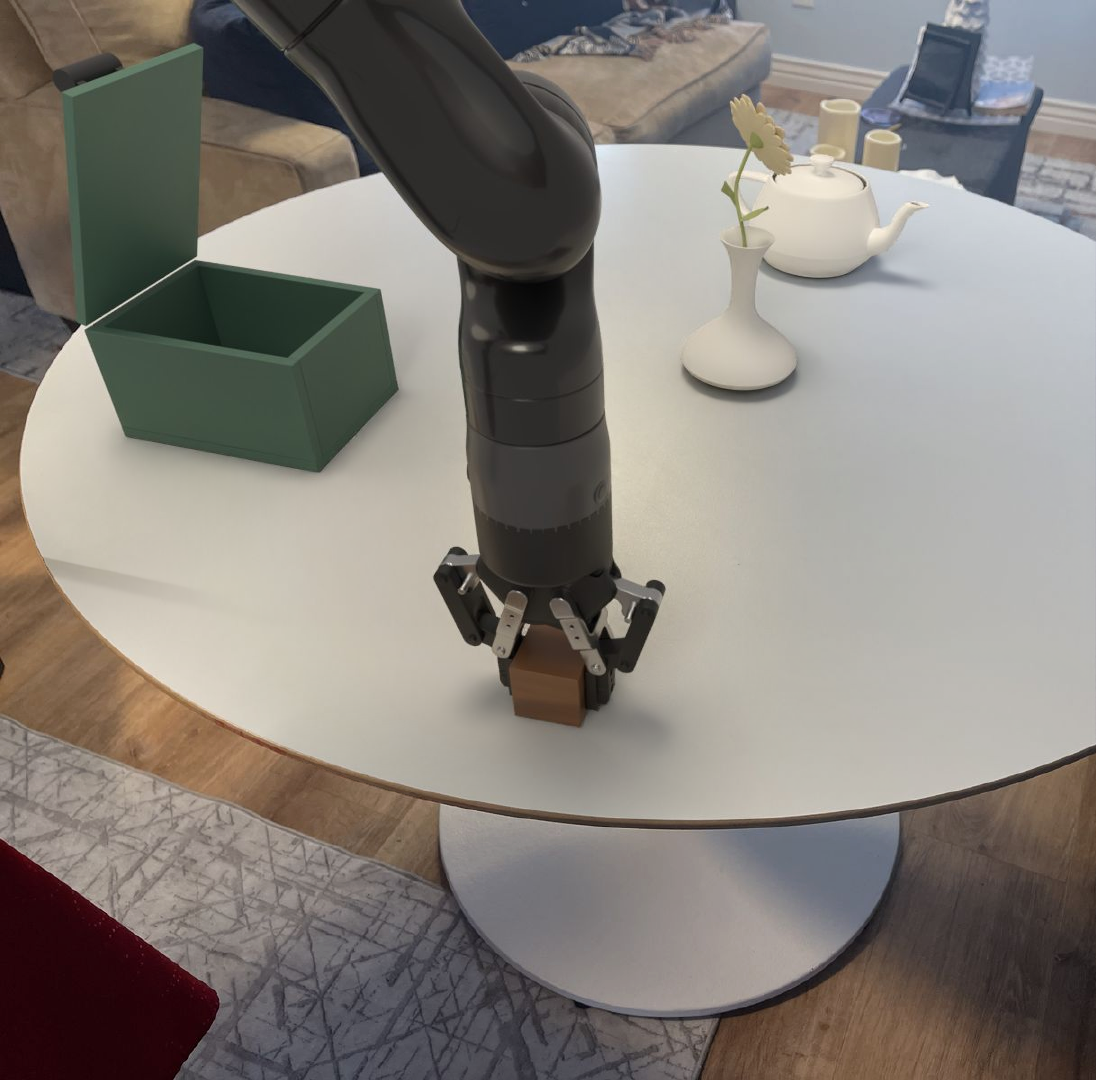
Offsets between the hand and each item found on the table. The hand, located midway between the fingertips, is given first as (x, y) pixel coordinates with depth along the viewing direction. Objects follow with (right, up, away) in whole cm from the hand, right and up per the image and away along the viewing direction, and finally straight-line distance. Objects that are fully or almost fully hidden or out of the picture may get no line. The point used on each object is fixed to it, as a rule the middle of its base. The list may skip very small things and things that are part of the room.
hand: (558, 692), depth 65 cm
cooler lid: (-34, +37, +13) cm, 52 cm away
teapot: (+22, +43, +55) cm, 73 cm away
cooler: (-30, +21, +24) cm, 44 cm away
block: (0, 0, 0) cm, 0 cm away
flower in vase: (+12, +27, +34) cm, 45 cm away
